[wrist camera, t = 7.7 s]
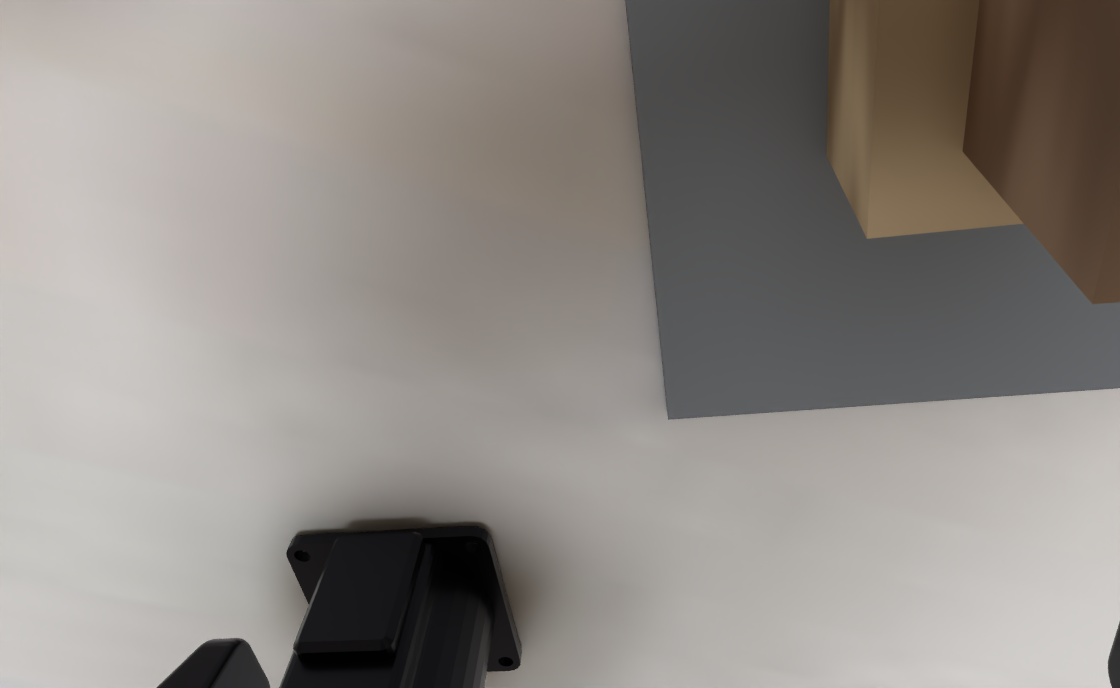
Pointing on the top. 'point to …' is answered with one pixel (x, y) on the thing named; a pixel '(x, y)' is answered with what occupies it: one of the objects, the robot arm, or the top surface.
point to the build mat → (820, 243)
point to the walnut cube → (1053, 128)
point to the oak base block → (906, 117)
